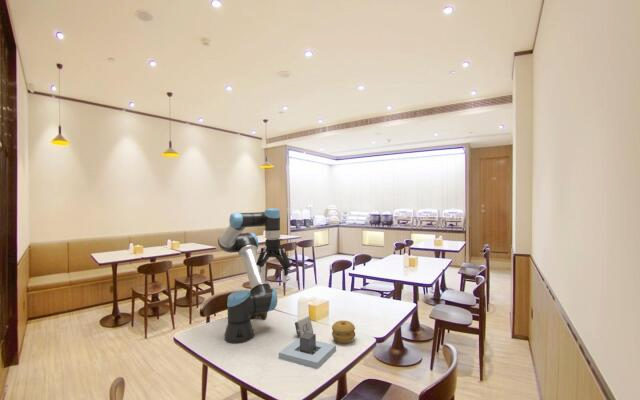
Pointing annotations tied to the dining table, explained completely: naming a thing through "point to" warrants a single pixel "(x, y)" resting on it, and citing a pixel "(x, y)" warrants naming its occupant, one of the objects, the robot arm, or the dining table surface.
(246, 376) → the dining table surface
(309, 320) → the electrical switch
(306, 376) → the dining table surface
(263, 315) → the kendama
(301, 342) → the plug
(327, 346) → the socket plate
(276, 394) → the dining table surface
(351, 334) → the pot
